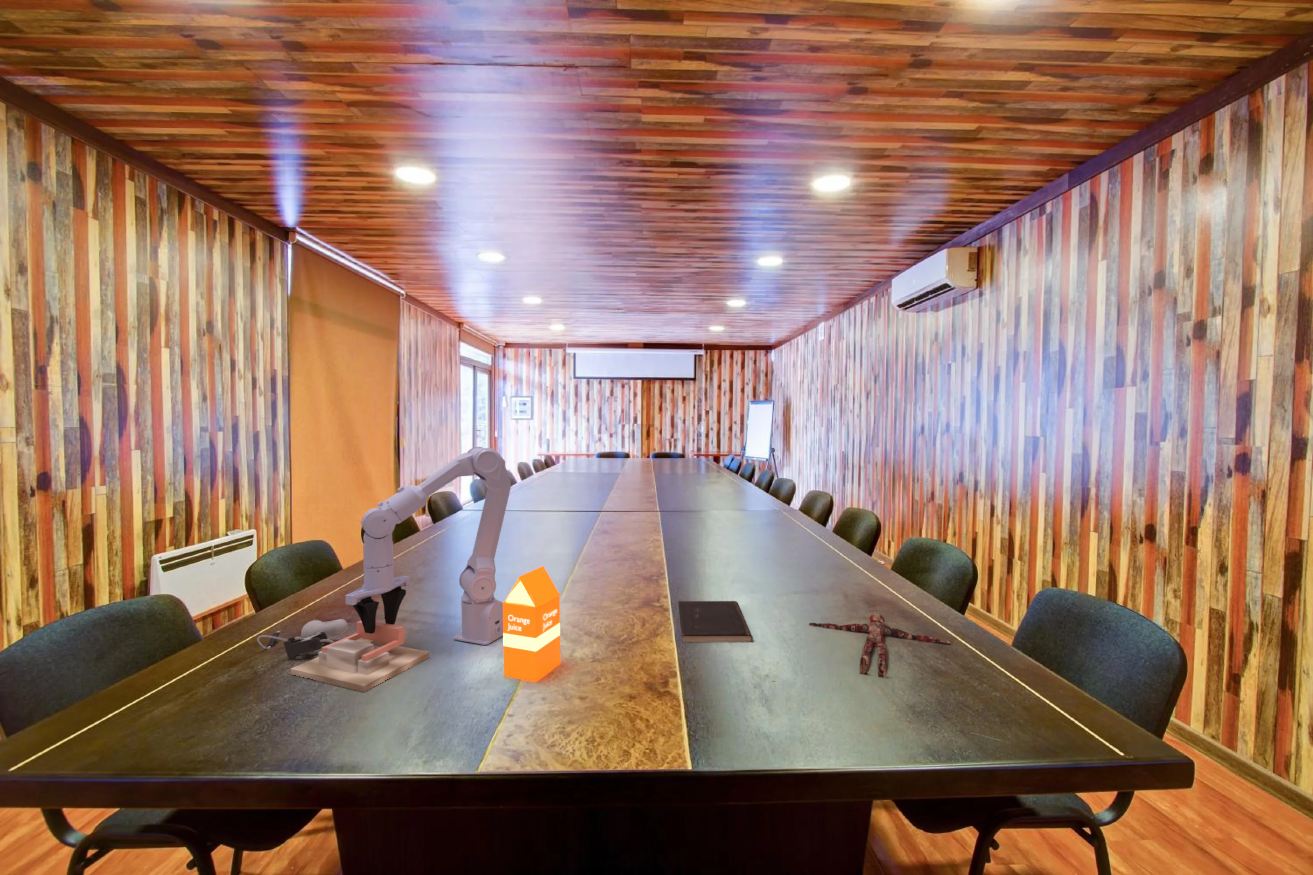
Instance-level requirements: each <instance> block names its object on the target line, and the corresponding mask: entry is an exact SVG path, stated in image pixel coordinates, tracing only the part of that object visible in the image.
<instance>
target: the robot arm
mask: <svg viewBox="0 0 1313 875" xmlns="http://www.w3.org/2000/svg"><path fill="white" fill-rule="evenodd" d="M469 476H470V477H472V476H477V477H478V478H479V479H480V481H481V482H482V483H483V485H484V486H485V488H486V495H485V499H484V503H483V507H482V510H481V516H480V520H479V523H478V524H479V525H478V528H477V532H476V537H475V541H474V546H473V549H472V553H471V556H469V557H468V560H467V563H466V566H465V568H464V569H463V570H462V572H461V573H460V576H459V586H460V588H461V589H462V590H463V593H462V595H461V598H460V599H461V600H460V601H461V633H459V634H457V635H455V636H454V637H453V640H455V641H461V642H467V643H472V644H478V645H483V646H488V645H489V644H491V643H492V642H494V641H495V640H496V641H497V639H499V638H501V637H503V602H502V601H501V600H498V599H497V598H495V592H496V591H497V590H496V589H497V582H496V579H495V578H496V576H495V575H496V570H497V569H496V563H495V562H496V561H495V557H496V553H497V549H498V545H499V540H500V535H501V531H502V528H503V527H502V526H503V523H504V520H505V519H504V518H505V514H506V509H507V506H508V502H509V497H510V494H511V493H510V492H511V489H512V483H511V480H510V476H509V473H508V470H507V467H506V460H505V459H504V458H503V457H502V455H501V454H500V453H499V452H498V451H497V450H496V449H494V448H490V447H483V446H482V447H481V446H474V447H472V448H470V449H469V450H468V451H467V452H463V453H461V454H460V455H458V456H457V457H455V458H454V459H451V461H449V462H448V463H446V464H445V465H443V466H442V467H441V468H440V469H438V470H437V471H436V472H434V473H433V474H432V475H431V476H429V477H428V478H426V479H425V480H424V481H422V482H421V483H420V484H418V485H412V484H408V485H406V486H405V487H404V486H403V485H401V486H400V487H398V488H397V489H396V490H397V492H396V493H395V494H393V495H392V496H390V497H388V498H387V499H385V500H384V501H382V500H380V501H379V502H378V503H377V507H372V508H369V509H368V510H367V511H366V512H365V513H364V514H363V516H362V519H361V520H360V525H361V528H362V529H363V531H365V532H364V533H363V536H362V537H363V545H362V549H363V552H362V553H363V555H362V556H363V584H362V587H359V588H358V589H355V590H354V591H352V592H351V593H348V594H345V605H348V606H352V607H353V609H354V610H355V611H356V613H357V614H358V617H359V619H360V621H362V624H363V627H364V631H365V633H370V634H372V633H375V626H376V622H377V620H376V619H377V618H376V616H377V610H378V608H379V607H378V606H379V604H380V602H379V601H376V600H374V598H373V597H377V596H381V600H382V603H383V610H384V611H383V613H384V615H383V616H384V621H385V622H384V623H386V624H392V625H396V620H397V617H398V613H399V609H400V606H401V604H402V602H403V600H404V598H405V596H406V594H407V590H406V589H403V587H409V586H410V585H411V581H410V579H411V578H410V576H408V575H407V576H406V575H403V576H402V575H401V576H398V577H395V563H394V559H395V558H394V553H395V552H394V541H393V532H394V530H395V527H396V525H398V524H402V522H403V521H405V520H407V519H408V518H409V517H411V516H413V515H414V514H415V513H417V512H418V511H419V510H421V509H422V508H424V507H425V506H426V502H427V499H428V497H429V496H431V495H433V494H434V493H436V492H437V491H439V490H440V489H442V488H443V487H445V486H446V485H449V483H451V482H453V481H454V480H456V479H457V478H460V477H469Z"/></svg>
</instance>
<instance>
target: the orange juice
mask: <svg viewBox="0 0 1313 875" xmlns="http://www.w3.org/2000/svg"><path fill="white" fill-rule="evenodd" d="M560 595H561V594H560V593H559V591H558V589H557V587H556V585H555V584H554V581H553V580H552V579H551V577H550V575H549V573H548V571H547V570H546V568H545V567H544V565H542V566H540V567H537V568H535V569H534V570H531V571H528V572H526V573H524V574H522V575H520V576H519V575H518V578H517V580H516V581H515V584H513V587H512V588H511V590H510V592H509V593H508V594H507V596H506V598H505V599H504V602H502V603H503V636H502V644H503V645H502V646H503V676H504V677H507V678H512V679H518V680H523V681H527V682H532V683H537V682H539V681H540V680H542V678H544V677H546V675H548V674H549V673H551V672H552V671H553V670H554V669H555V668H557V667H558V666H560V665H561V620H560V619H561V616H560V614H561V613H560V612H561V610H560V609H561V608H560V605H561V604H560Z"/></svg>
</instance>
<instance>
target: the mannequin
mask: <svg viewBox="0 0 1313 875" xmlns="http://www.w3.org/2000/svg"><path fill="white" fill-rule="evenodd" d="M868 619H869V622H870V623H869V624H868V623H862V624H861V623H851V624H848V623H847V624H843V625H841V624H840V625H839V624H836V623H829V622H827V623H825V622H822V623H821V622H820V623H816V622H809V624H808V625H809V626H810V627H819V628H821V629H822V628H823V629H828V630H837V631H845V632H852V633H858V632H859V633H861V632H868V635H867V636H866V640H865V641H864V642H863V643H862V644H863V645H862V651H861V658H860V660H859V674H860V675H865V676H868V671H869V667H870V657H871V653H872V651H873V648H876V649H877V654H878V658H877V671H878V672H877V676H878V678H883V679H886V678H887V665H888V664H887V662H888V660H887V654H888V651H887V649H888V648H887V645H886V642H885V639H884V634H885V635H890V636H892V637H895V638H898V639H902V640H903V639H904V640H912V641H917V642H923V643H931V644H935V643H936V644H943V645H951V641H949V640H946V639H940V638H936V637H932V636H928V635H921V634H916V635H915V634H912V633H909V632H907V631H905V630H901V629H899V628H891V627H890V626H884V624H885V621H886V620H885V618H884V616H883V615H882V614H880V613H872V614H871V615H870V616H869V618H868Z"/></svg>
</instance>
